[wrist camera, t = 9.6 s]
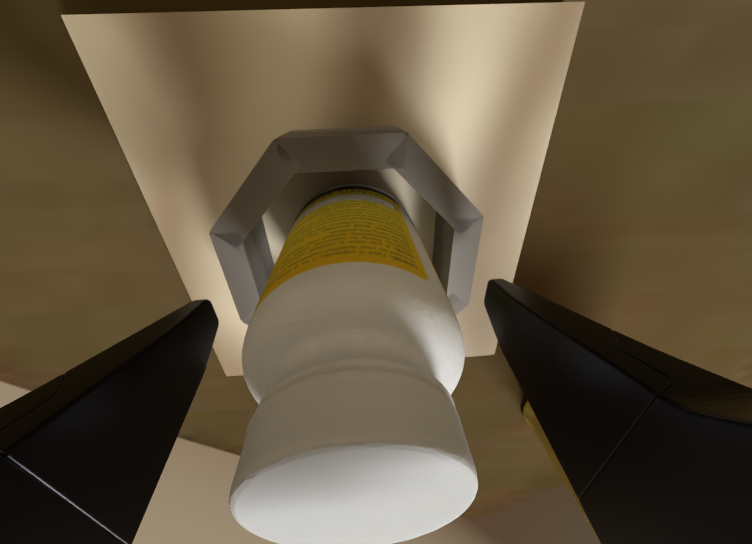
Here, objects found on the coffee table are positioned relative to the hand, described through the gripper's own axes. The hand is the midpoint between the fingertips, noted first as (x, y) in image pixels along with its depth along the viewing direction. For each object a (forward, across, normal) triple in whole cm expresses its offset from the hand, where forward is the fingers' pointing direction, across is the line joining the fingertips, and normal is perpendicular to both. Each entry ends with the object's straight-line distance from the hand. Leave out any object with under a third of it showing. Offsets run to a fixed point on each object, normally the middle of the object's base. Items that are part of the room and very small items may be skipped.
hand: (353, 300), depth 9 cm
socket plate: (+5, 0, 0) cm, 5 cm away
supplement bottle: (+4, 0, 0) cm, 4 cm away
